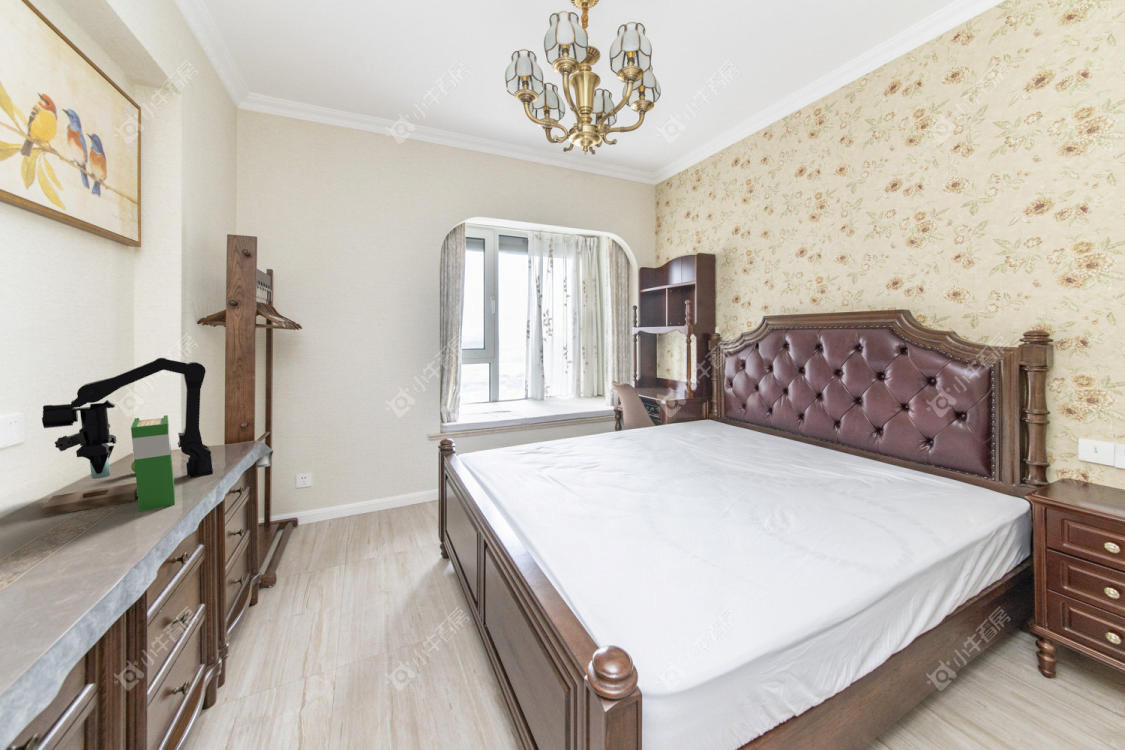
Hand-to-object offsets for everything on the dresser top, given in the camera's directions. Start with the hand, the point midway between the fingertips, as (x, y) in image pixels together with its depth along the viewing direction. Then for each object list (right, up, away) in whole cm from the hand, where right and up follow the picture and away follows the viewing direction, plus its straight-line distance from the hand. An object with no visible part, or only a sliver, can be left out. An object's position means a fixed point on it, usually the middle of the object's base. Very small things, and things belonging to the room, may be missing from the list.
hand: (100, 471), depth 137 cm
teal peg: (0, -2, 0) cm, 2 cm away
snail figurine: (-4, -5, +18) cm, 19 cm away
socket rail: (+8, -7, -9) cm, 14 cm away
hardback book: (+24, -7, -6) cm, 26 cm away
